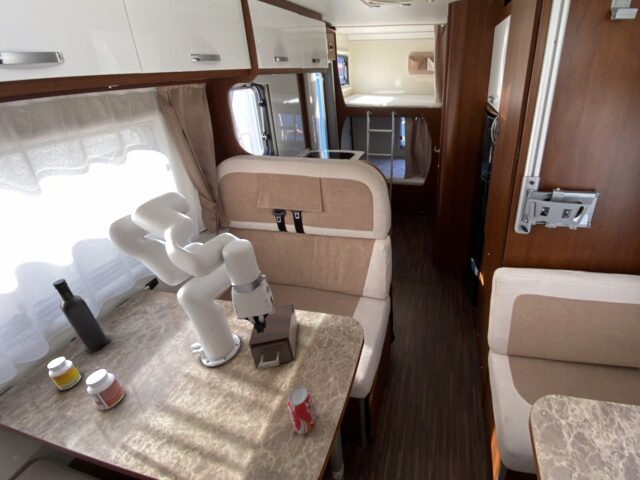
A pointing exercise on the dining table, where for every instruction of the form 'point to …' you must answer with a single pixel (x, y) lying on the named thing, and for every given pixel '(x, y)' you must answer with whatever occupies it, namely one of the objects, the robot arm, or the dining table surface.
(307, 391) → the beverage can
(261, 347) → the drawer
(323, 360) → the dining table surface
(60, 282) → the wine bottle
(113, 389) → the pill bottle
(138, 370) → the dining table surface
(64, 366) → the supplement bottle
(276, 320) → the cabinet
